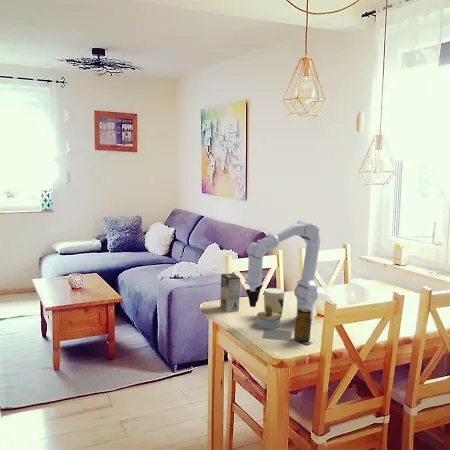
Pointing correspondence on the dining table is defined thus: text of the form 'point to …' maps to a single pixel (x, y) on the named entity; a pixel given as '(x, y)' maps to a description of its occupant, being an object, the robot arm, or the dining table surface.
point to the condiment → (302, 326)
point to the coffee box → (230, 292)
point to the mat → (277, 334)
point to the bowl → (268, 324)
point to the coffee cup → (274, 299)
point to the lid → (268, 314)
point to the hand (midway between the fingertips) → (253, 304)
